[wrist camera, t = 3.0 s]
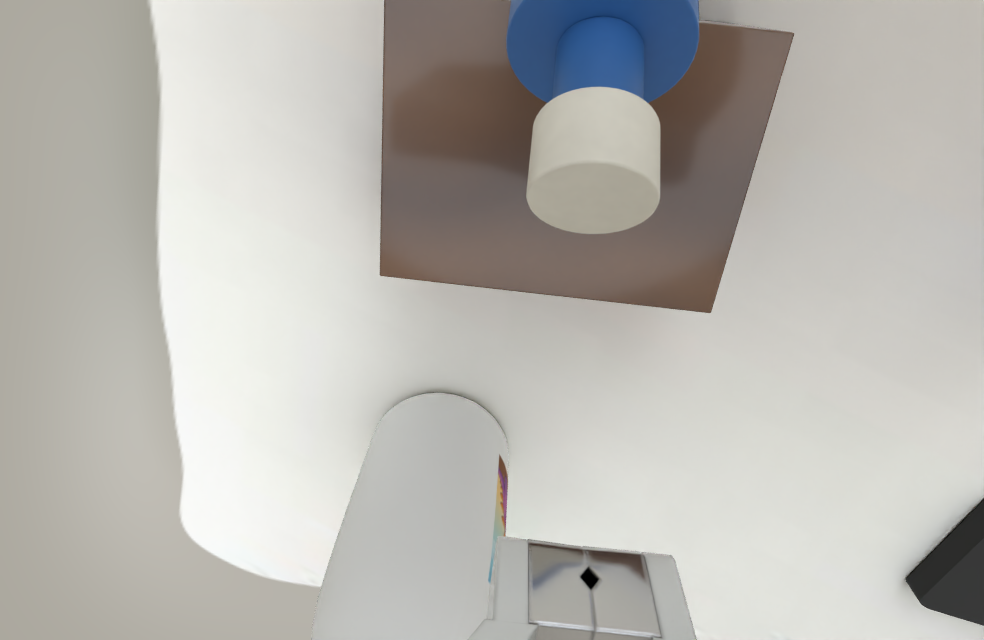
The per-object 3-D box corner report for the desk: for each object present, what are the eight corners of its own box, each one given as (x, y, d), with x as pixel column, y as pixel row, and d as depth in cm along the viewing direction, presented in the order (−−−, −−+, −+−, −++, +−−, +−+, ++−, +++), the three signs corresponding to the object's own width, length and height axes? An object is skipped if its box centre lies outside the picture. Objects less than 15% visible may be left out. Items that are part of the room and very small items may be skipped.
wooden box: (415, -13, 25) (384, -14, 20) (738, 24, 25) (795, 32, 20) (406, 225, 30) (379, 276, 24) (678, 256, 30) (711, 313, 24)
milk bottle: (347, 441, 36) (170, 878, 18) (436, 362, 33) (328, 787, 15) (446, 514, 38) (374, 966, 20) (537, 445, 35) (545, 901, 18)
